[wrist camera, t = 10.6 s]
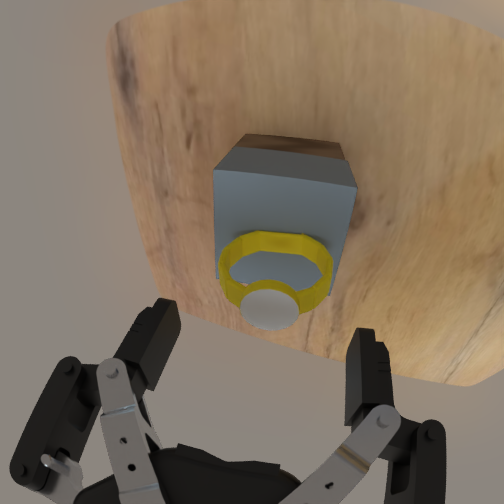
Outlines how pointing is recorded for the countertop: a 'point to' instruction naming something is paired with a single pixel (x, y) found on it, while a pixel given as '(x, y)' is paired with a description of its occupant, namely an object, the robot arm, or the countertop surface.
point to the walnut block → (292, 145)
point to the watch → (272, 291)
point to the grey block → (282, 210)
